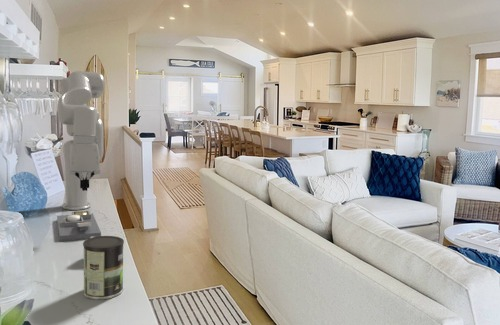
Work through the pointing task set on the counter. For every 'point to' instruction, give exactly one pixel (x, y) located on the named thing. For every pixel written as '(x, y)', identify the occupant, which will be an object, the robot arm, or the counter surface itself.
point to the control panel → (73, 231)
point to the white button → (73, 218)
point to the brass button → (81, 213)
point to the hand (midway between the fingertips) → (84, 190)
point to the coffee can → (103, 267)
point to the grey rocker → (83, 224)
